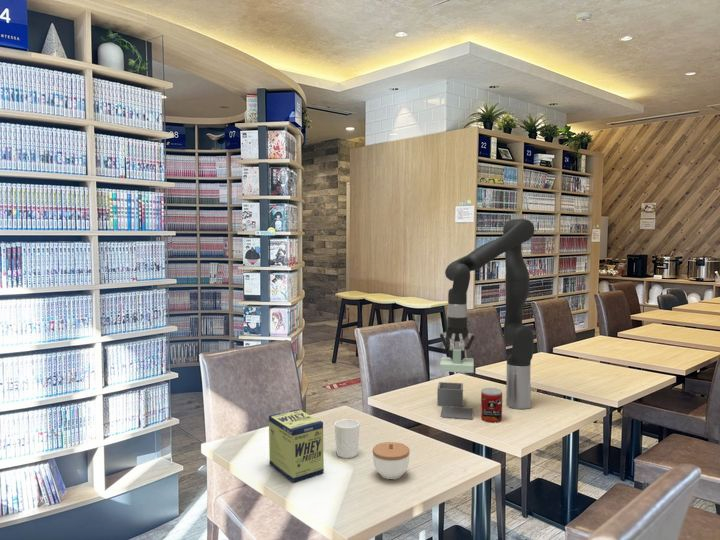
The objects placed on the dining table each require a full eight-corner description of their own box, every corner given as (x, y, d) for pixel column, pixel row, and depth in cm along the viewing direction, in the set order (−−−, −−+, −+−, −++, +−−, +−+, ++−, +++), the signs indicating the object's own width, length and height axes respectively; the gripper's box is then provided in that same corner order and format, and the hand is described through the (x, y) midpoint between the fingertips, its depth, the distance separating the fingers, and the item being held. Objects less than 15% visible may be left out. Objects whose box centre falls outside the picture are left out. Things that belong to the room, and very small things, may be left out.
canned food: (480, 422, 197) (481, 393, 197) (481, 415, 205) (481, 386, 204) (502, 423, 196) (502, 394, 195) (501, 416, 203) (502, 388, 203)
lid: (473, 364, 210) (473, 345, 210) (473, 372, 198) (473, 352, 198) (441, 363, 213) (441, 344, 213) (439, 371, 201) (440, 351, 200)
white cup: (331, 451, 172) (331, 420, 172) (354, 447, 175) (354, 417, 174) (339, 460, 165) (339, 429, 164) (363, 456, 168) (363, 425, 167)
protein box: (293, 483, 150) (292, 429, 149) (268, 464, 163) (267, 414, 162) (324, 473, 156) (324, 421, 155) (298, 456, 169) (297, 408, 168)
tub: (462, 399, 224) (463, 383, 224) (462, 407, 214) (462, 390, 214) (439, 398, 226) (439, 382, 226) (437, 405, 216) (437, 388, 216)
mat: (472, 409, 212) (472, 408, 212) (472, 419, 200) (472, 418, 200) (442, 407, 214) (442, 406, 214) (440, 417, 202) (440, 416, 202)
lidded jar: (365, 475, 155) (364, 443, 154) (390, 463, 162) (389, 433, 162) (392, 487, 147) (392, 454, 147) (417, 474, 155) (417, 443, 154)
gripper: (476, 314, 207) (475, 358, 208) (439, 313, 209) (439, 356, 211) (476, 317, 199) (475, 362, 200) (438, 316, 202) (438, 361, 203)
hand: (457, 359), depth 206 cm, fingers closed on lid, 3 cm apart
